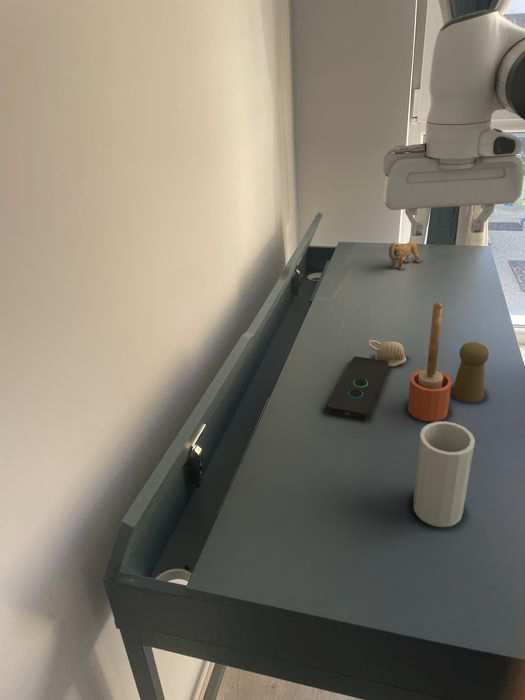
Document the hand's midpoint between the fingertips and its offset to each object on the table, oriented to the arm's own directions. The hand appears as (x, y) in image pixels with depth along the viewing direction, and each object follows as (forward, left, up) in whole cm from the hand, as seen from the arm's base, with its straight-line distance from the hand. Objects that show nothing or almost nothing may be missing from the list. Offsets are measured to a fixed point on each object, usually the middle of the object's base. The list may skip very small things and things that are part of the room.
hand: (446, 233), depth 84 cm
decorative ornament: (+5, -18, -35) cm, 40 cm away
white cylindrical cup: (+4, +25, -35) cm, 43 cm away
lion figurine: (-9, -75, -35) cm, 83 cm away
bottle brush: (0, 0, -34) cm, 34 cm away
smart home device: (+12, -8, -35) cm, 38 cm away
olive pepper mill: (-9, -5, -35) cm, 37 cm away
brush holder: (0, 0, -35) cm, 35 cm away
